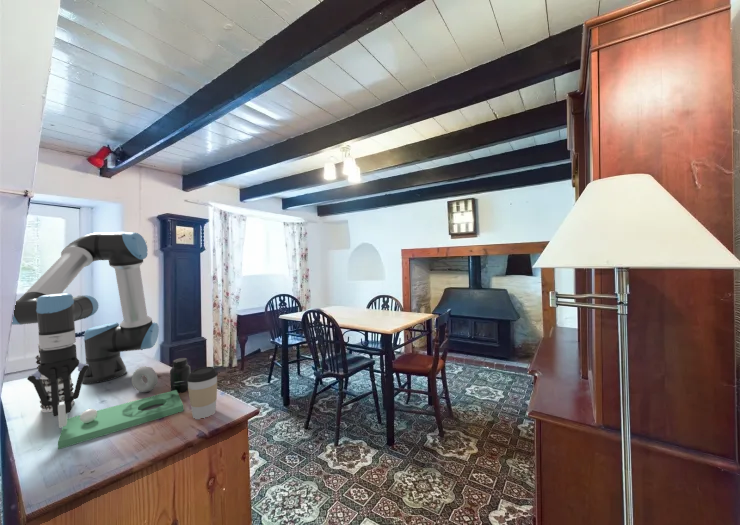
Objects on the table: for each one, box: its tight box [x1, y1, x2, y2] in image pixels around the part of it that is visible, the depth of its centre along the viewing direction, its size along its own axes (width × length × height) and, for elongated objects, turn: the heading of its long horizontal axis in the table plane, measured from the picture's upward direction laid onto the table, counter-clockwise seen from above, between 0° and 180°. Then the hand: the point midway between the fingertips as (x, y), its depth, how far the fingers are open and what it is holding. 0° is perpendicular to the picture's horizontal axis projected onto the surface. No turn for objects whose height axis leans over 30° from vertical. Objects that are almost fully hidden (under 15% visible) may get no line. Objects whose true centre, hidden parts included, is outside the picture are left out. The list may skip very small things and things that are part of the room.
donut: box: [131, 366, 158, 393], centre depth 119 cm, size 10×3×10 cm, turn 84°
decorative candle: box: [35, 343, 75, 413], centre depth 109 cm, size 9×9×25 cm
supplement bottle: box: [169, 357, 191, 394], centre depth 120 cm, size 7×7×12 cm
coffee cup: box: [187, 366, 219, 420], centre depth 101 cm, size 9×9×15 cm
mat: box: [57, 390, 185, 450], centre depth 100 cm, size 16×30×2 cm, turn 129°
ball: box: [80, 408, 98, 423], centre depth 94 cm, size 4×4×4 cm
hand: (63, 424), depth 91 cm, fingers closed
